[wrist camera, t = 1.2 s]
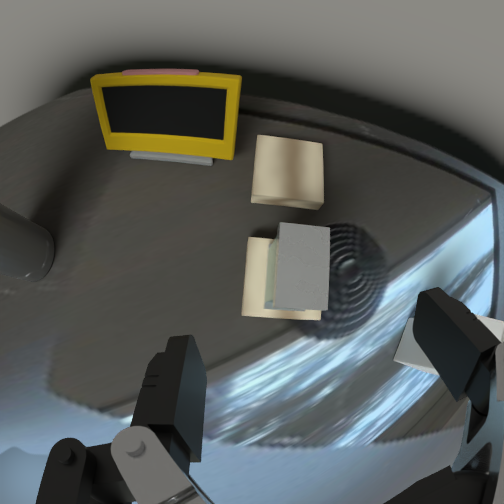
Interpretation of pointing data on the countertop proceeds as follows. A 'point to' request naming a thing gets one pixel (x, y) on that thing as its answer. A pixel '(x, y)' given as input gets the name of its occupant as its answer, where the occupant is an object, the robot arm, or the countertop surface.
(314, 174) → the stand
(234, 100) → the toy computer monitor
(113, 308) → the countertop surface
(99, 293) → the countertop surface
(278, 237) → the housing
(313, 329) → the countertop surface
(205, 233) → the countertop surface
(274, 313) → the stand
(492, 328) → the milk carton
